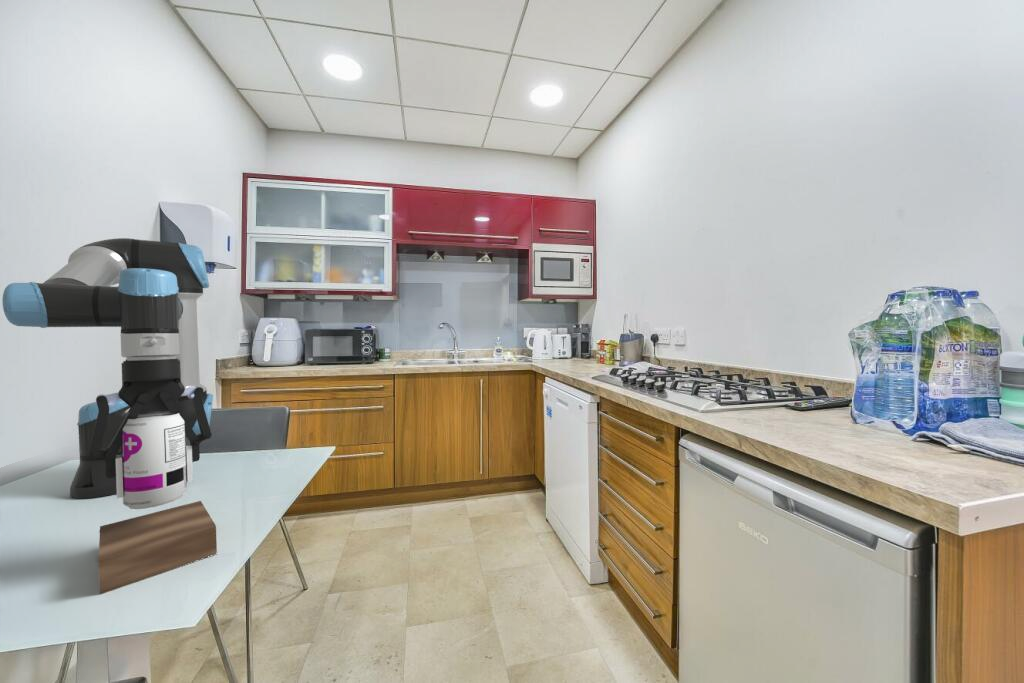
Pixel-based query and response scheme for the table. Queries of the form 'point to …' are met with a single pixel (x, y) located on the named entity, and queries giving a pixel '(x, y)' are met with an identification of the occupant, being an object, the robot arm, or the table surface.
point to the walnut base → (154, 544)
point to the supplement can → (153, 460)
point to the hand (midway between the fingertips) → (156, 487)
